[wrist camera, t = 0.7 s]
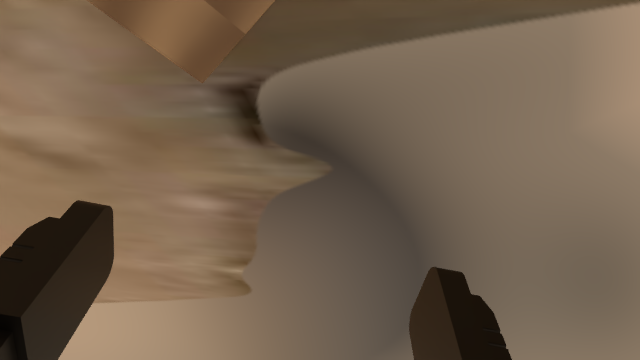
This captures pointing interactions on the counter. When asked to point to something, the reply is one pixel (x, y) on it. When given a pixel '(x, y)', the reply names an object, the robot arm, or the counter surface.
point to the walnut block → (188, 27)
